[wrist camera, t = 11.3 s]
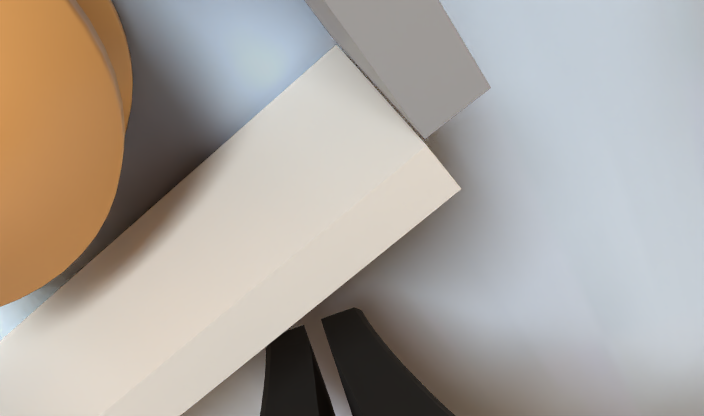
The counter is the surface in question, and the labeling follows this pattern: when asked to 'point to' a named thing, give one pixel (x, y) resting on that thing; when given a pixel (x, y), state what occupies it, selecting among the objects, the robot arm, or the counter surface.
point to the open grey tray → (407, 55)
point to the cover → (229, 255)
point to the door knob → (58, 133)
